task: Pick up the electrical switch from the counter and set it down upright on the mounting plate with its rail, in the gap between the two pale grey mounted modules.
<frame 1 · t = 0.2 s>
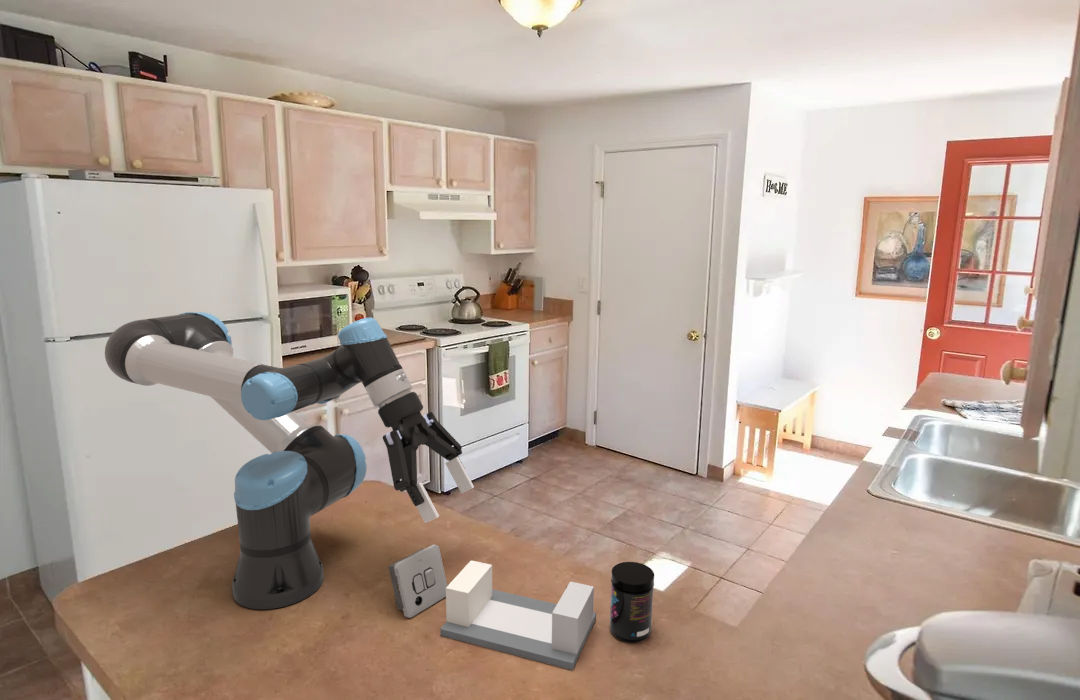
hand: (451, 504, 112), 15 cm above the countertop, tool tilted 30°, fingers open, 13 cm apart
supplement container: (630, 632, 101), on the countertop
rail plate: (519, 627, 102), on the countertop
electrical switch: (418, 603, 108), on the countertop
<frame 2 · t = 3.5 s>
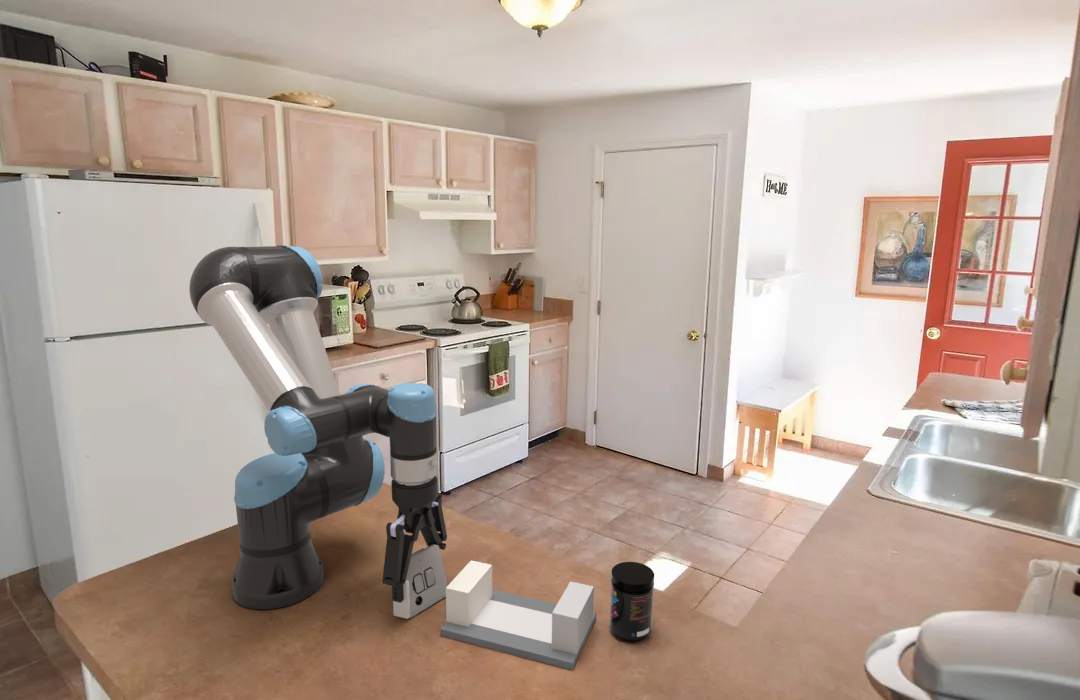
hand: (418, 598, 108), 1 cm above the countertop, tool pointing down, fingers closed on electrical switch, 9 cm apart
electrical switch: (418, 603, 108), on the countertop, touching gripper
everything else where it was.
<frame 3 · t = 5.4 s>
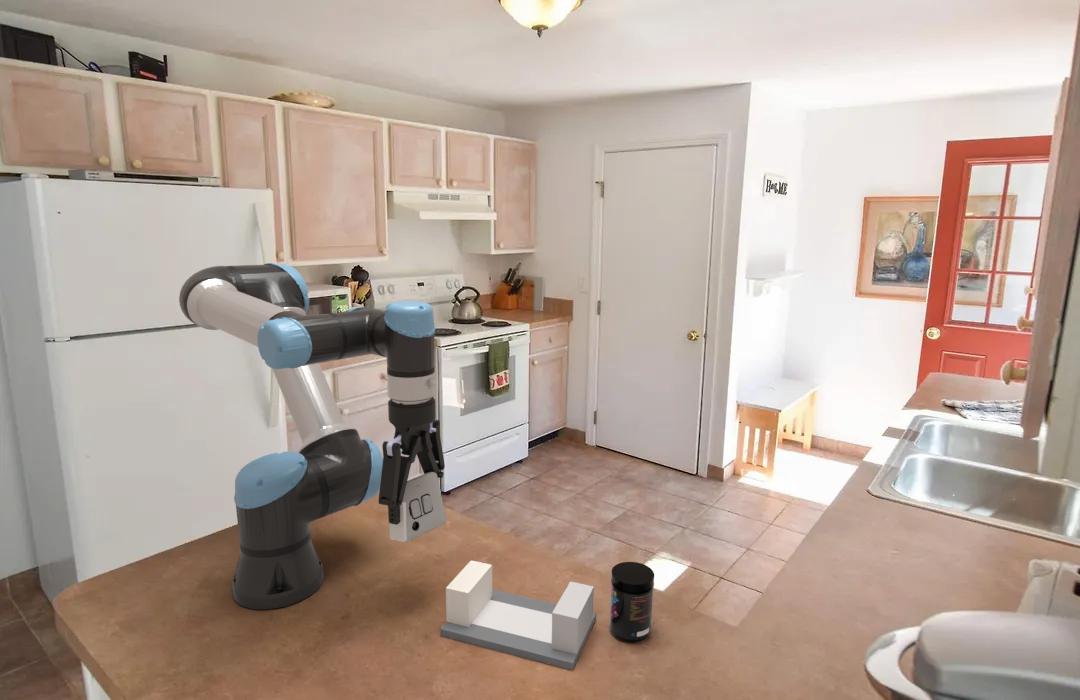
hand: (414, 525, 105), 14 cm above the countertop, tool pointing down, fingers closed on electrical switch, 9 cm apart
electrical switch: (415, 530, 106), point 13 cm above the countertop, touching gripper
everything else where it was.
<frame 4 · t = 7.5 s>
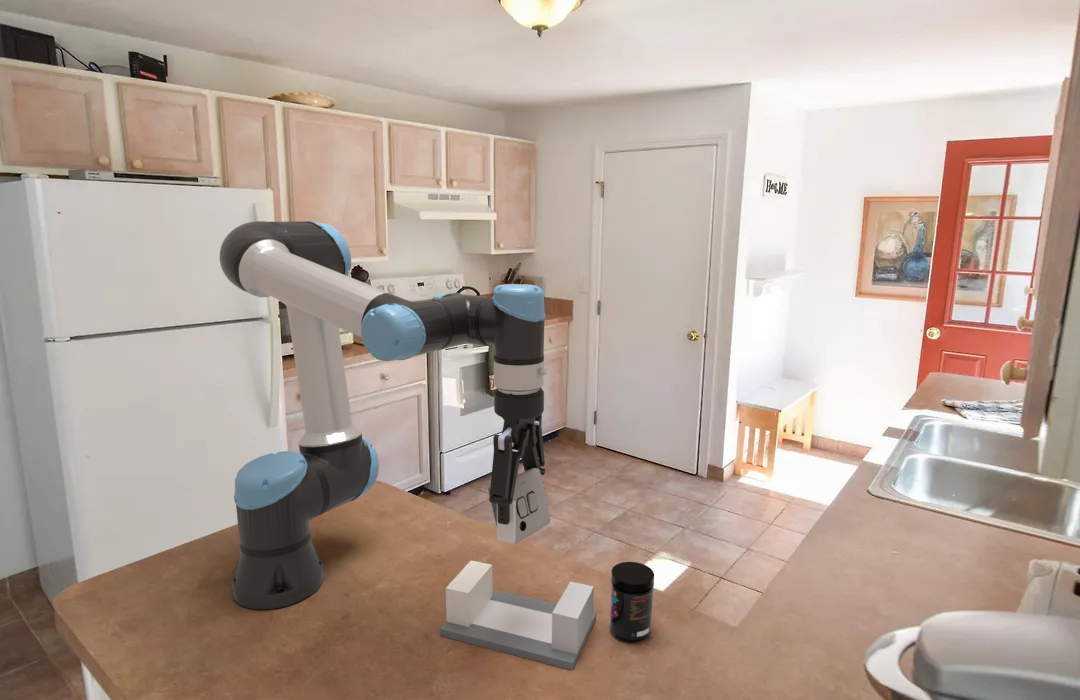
hand: (519, 526, 98), 18 cm above the countertop, tool pointing down, fingers closed on electrical switch, 9 cm apart
electrical switch: (519, 531, 98), point 17 cm above the countertop, touching gripper
everything else where it was.
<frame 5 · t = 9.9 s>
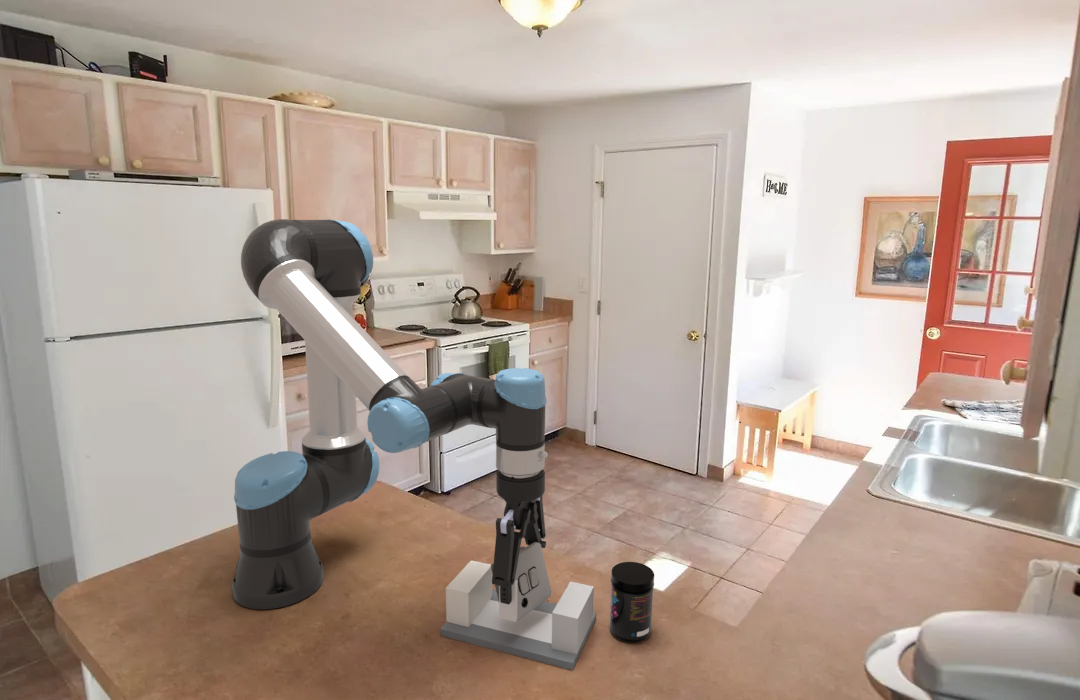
hand: (520, 600, 101), 5 cm above the countertop, tool pointing down, fingers closed on electrical switch, 9 cm apart
electrical switch: (520, 605, 101), point 4 cm above the countertop, touching gripper
everything else where it was.
when the fingers open (3 cm above the countertop, at t = 11.6 s): electrical switch stays where it is, resting on rail plate.
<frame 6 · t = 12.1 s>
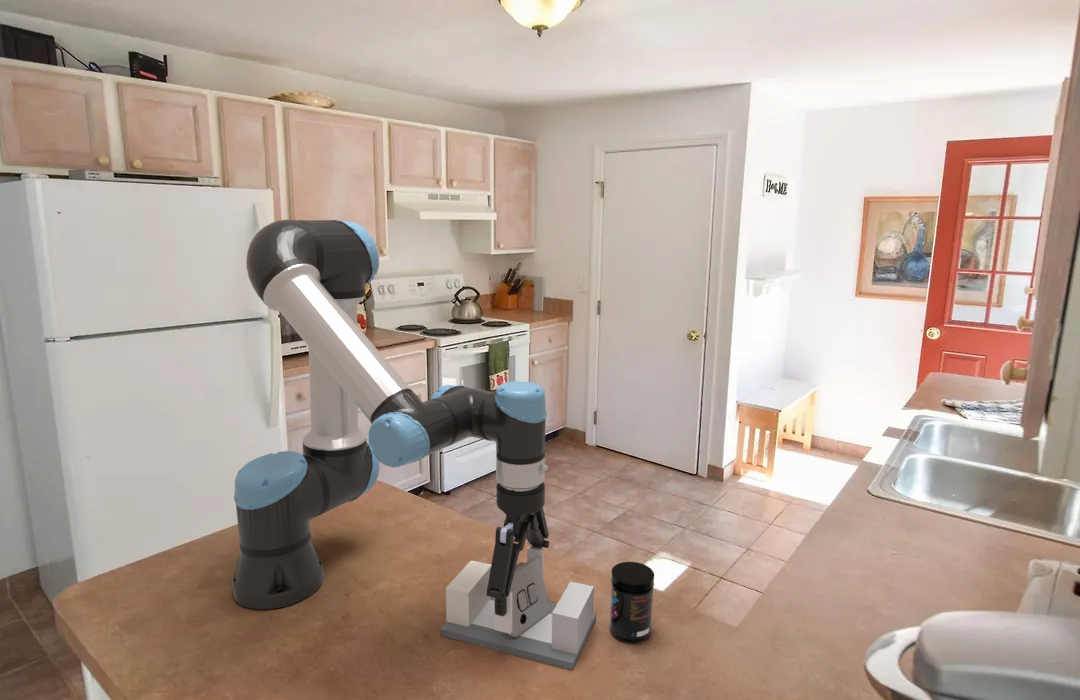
hand: (520, 605, 101), 4 cm above the countertop, tool pointing down, fingers open, 13 cm apart
electrical switch: (519, 621, 101), point 1 cm above the countertop, touching rail plate
everything else where it was.
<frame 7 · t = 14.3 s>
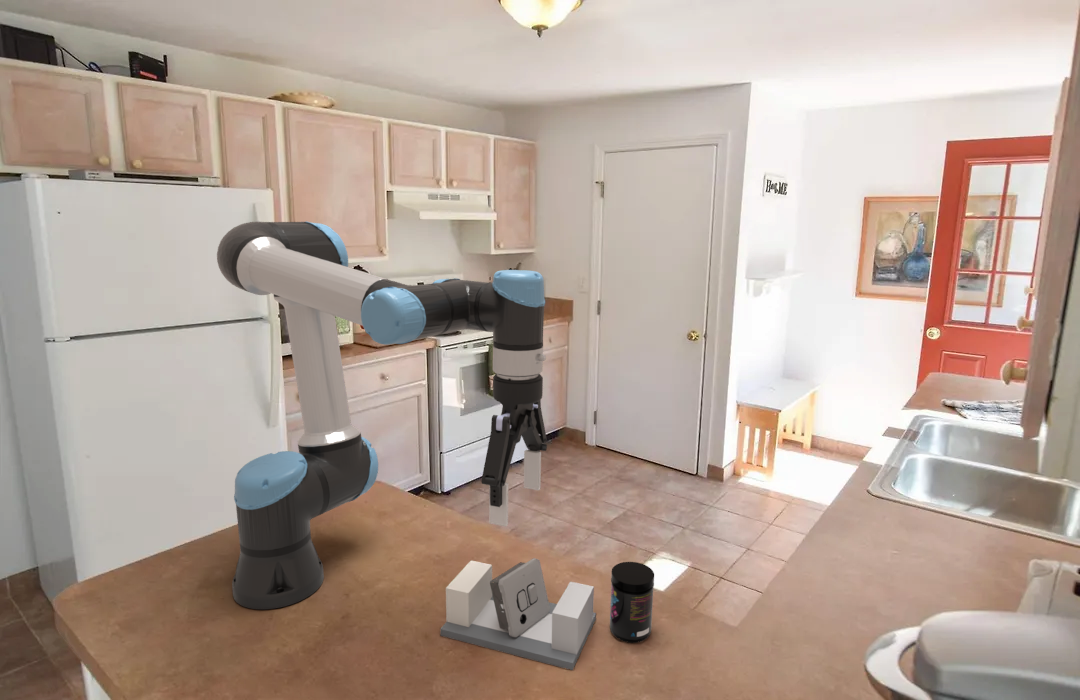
hand: (516, 505, 98), 21 cm above the countertop, tool pointing down, fingers open, 13 cm apart
nothing on the countertop moved.
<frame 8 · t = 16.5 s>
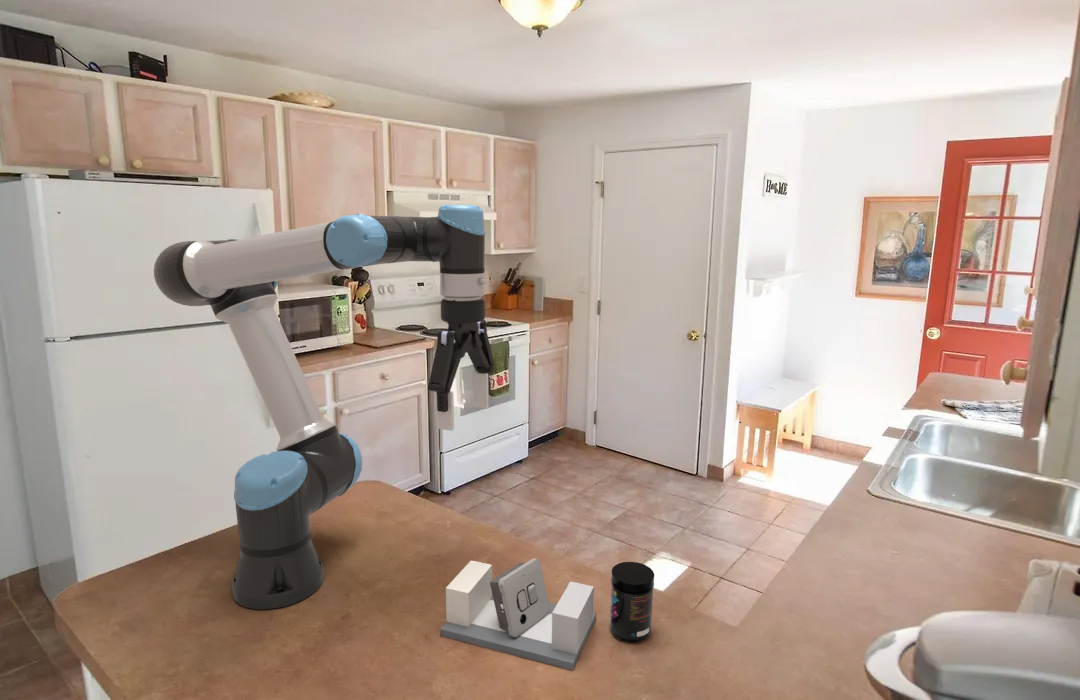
hand: (464, 417, 110), 31 cm above the countertop, tool pointing down, fingers open, 13 cm apart
nothing on the countertop moved.
at the end: electrical switch 0.1 cm off-centre on the rail plate, point 1.0 cm above the rail plate's base; electrical switch tilted 0°; the gripper is holding nothing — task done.
